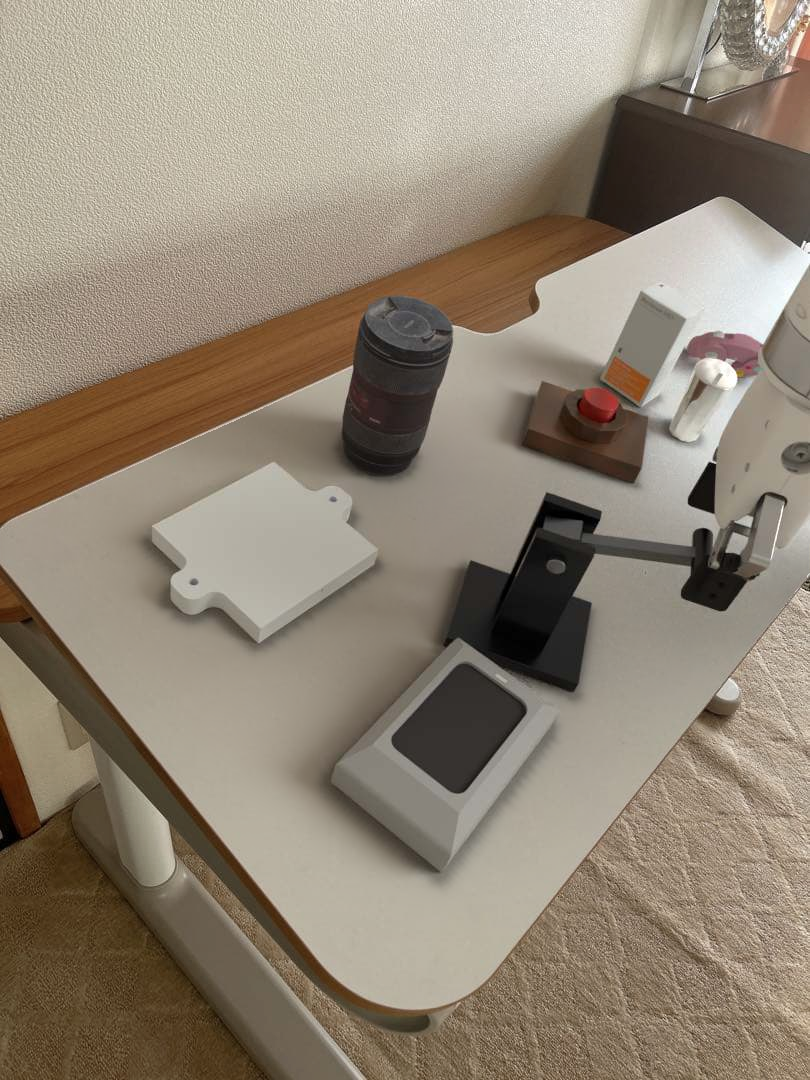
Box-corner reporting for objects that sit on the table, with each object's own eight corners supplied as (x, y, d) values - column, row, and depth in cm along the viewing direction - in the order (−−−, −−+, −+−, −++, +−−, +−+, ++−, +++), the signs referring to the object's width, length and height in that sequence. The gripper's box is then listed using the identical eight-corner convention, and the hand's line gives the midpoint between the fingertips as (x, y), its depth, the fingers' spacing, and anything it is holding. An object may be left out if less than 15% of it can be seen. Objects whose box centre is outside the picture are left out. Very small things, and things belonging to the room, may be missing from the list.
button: (613, 407, 92) (620, 394, 90) (610, 427, 89) (616, 414, 88) (580, 396, 92) (586, 382, 90) (576, 415, 89) (582, 402, 88)
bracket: (587, 610, 77) (646, 508, 67) (573, 692, 70) (636, 591, 61) (467, 568, 77) (509, 460, 68) (442, 646, 71) (485, 538, 62)
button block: (640, 432, 96) (655, 403, 93) (633, 483, 90) (649, 454, 87) (535, 396, 96) (547, 366, 94) (521, 445, 90) (533, 414, 87)
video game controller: (679, 373, 108) (703, 345, 102) (684, 341, 110) (709, 312, 103) (755, 395, 109) (785, 368, 102) (760, 363, 110) (789, 334, 103)
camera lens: (320, 457, 83) (344, 322, 72) (359, 414, 88) (388, 282, 77) (396, 495, 81) (433, 362, 71) (431, 448, 87) (471, 319, 76)
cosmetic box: (597, 380, 101) (638, 289, 92) (617, 368, 104) (659, 278, 95) (640, 409, 99) (687, 319, 90) (659, 396, 101) (706, 307, 93)
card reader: (338, 755, 58) (461, 626, 68) (330, 781, 61) (450, 653, 70) (455, 849, 55) (566, 700, 65) (441, 872, 58) (550, 726, 68)
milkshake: (658, 439, 96) (699, 365, 88) (666, 413, 99) (706, 339, 92) (698, 456, 95) (742, 382, 88) (705, 429, 99) (748, 356, 92)
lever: (710, 547, 66) (715, 523, 64) (708, 595, 62) (714, 571, 61) (547, 526, 69) (548, 503, 67) (536, 571, 65) (537, 547, 64)
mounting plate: (232, 661, 66) (234, 646, 64) (125, 556, 70) (124, 540, 69) (394, 550, 77) (398, 536, 75) (292, 466, 81) (294, 450, 80)
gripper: (915, 471, 45) (755, 663, 57) (880, 305, 57) (754, 493, 69) (772, 424, 45) (643, 625, 57) (767, 269, 57) (661, 462, 69)
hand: (704, 553), depth 63 cm, fingers open, 9 cm apart
